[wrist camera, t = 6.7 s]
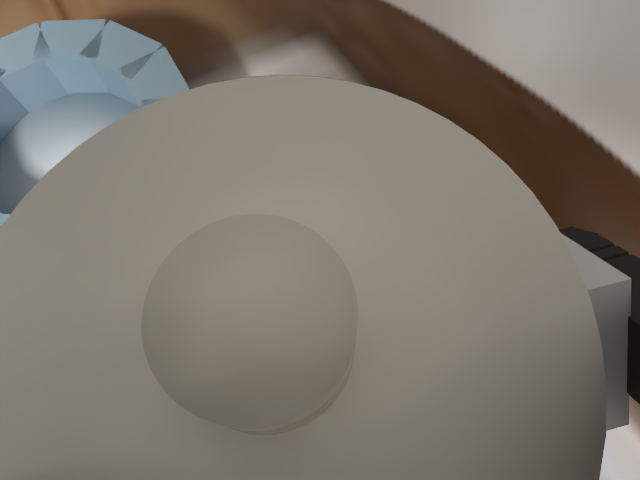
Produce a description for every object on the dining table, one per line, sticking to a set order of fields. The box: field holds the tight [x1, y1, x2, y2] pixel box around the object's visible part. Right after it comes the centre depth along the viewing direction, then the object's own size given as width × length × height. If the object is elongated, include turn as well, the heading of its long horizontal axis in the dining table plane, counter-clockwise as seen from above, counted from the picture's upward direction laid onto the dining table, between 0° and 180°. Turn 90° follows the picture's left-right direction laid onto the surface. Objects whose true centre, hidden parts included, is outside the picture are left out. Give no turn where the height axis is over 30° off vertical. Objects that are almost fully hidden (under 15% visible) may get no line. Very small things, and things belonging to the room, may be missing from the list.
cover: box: [0, 75, 607, 480], centre depth 11 cm, size 9×9×11 cm
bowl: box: [0, 19, 190, 228], centre depth 23 cm, size 11×11×4 cm
